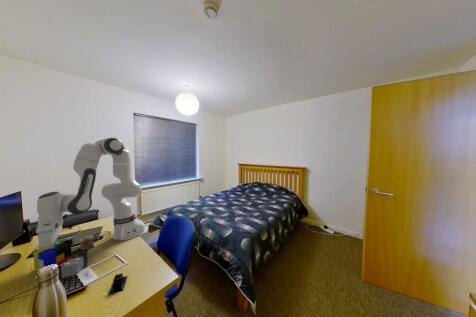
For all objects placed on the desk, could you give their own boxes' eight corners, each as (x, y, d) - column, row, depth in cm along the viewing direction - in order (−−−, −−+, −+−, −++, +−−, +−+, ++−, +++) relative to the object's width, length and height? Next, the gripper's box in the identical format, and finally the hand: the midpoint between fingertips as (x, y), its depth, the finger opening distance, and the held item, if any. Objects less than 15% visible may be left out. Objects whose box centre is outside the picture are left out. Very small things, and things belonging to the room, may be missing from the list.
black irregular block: (113, 278, 81) (112, 270, 81) (130, 274, 84) (130, 265, 84) (104, 299, 70) (104, 289, 69) (125, 293, 73) (124, 283, 72)
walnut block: (93, 243, 111) (92, 234, 111) (93, 247, 107) (93, 237, 107) (80, 247, 107) (80, 237, 107) (81, 251, 103) (80, 241, 102)
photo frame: (75, 272, 84) (116, 253, 99) (75, 274, 84) (116, 255, 99) (84, 285, 76) (127, 262, 91) (84, 287, 76) (127, 264, 91)
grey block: (83, 267, 88) (83, 256, 88) (77, 275, 83) (76, 263, 82) (69, 270, 86) (68, 258, 86) (62, 278, 81) (61, 266, 80)
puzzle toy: (48, 273, 84) (47, 254, 84) (34, 270, 86) (33, 252, 86) (72, 260, 94) (70, 243, 94) (58, 258, 96) (57, 241, 96)
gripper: (49, 217, 96) (51, 240, 96) (34, 231, 79) (36, 259, 80) (64, 214, 99) (66, 236, 100) (53, 228, 82) (55, 254, 83)
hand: (53, 247), depth 90 cm, fingers closed
